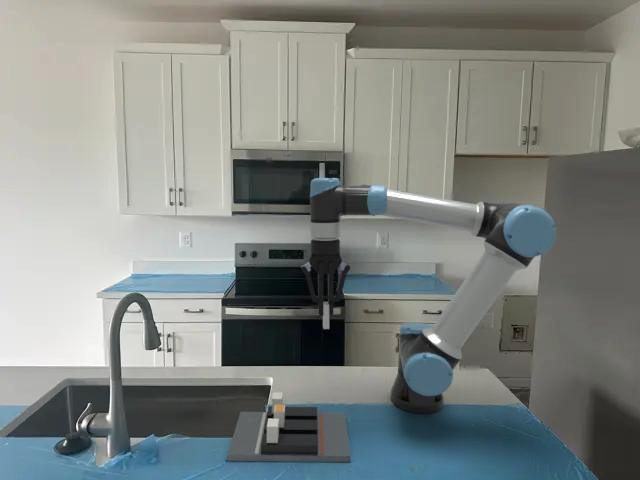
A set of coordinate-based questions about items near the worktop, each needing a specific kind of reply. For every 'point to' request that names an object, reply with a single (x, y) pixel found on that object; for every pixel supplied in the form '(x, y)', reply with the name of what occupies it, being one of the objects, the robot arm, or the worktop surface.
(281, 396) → the handle
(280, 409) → the handle
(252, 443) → the panel
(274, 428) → the handle
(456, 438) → the worktop surface
